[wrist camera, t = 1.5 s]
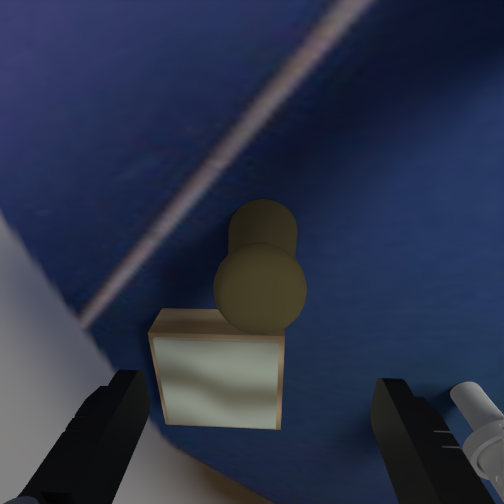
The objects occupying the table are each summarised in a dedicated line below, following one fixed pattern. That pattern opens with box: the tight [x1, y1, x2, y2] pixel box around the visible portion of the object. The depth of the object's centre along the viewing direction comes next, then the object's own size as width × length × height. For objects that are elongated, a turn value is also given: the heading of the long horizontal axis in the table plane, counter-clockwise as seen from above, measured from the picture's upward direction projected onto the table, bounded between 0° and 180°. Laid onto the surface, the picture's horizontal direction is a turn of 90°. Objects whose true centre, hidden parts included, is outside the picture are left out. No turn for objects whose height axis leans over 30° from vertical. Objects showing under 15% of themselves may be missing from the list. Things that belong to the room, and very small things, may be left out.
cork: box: [213, 199, 307, 335], centre depth 19 cm, size 6×6×11 cm
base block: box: [148, 308, 285, 430], centre depth 28 cm, size 12×12×4 cm
